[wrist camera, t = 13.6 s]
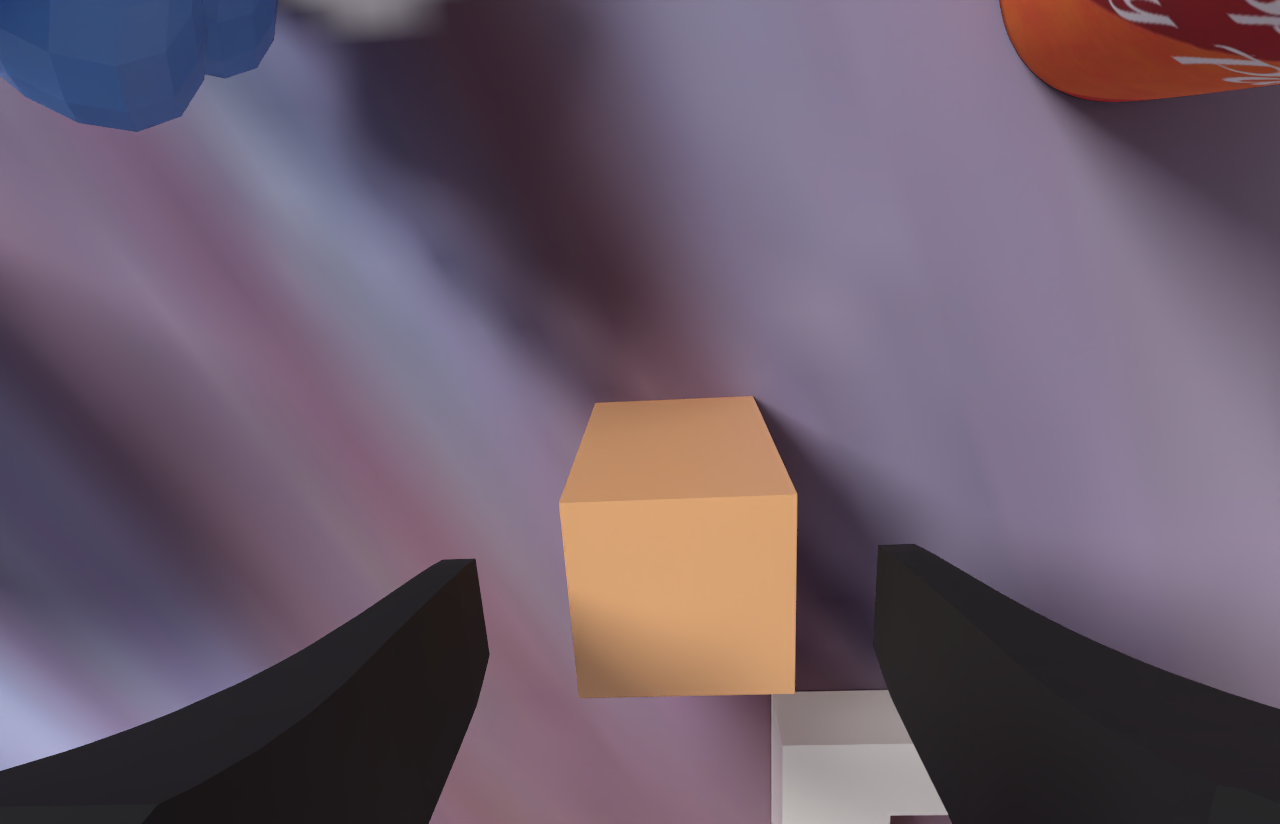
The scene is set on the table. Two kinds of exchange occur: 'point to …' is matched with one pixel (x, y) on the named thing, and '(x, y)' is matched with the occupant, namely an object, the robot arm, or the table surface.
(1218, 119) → the table surface
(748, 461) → the plug
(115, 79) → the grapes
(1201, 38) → the paper cup
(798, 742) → the socket block
